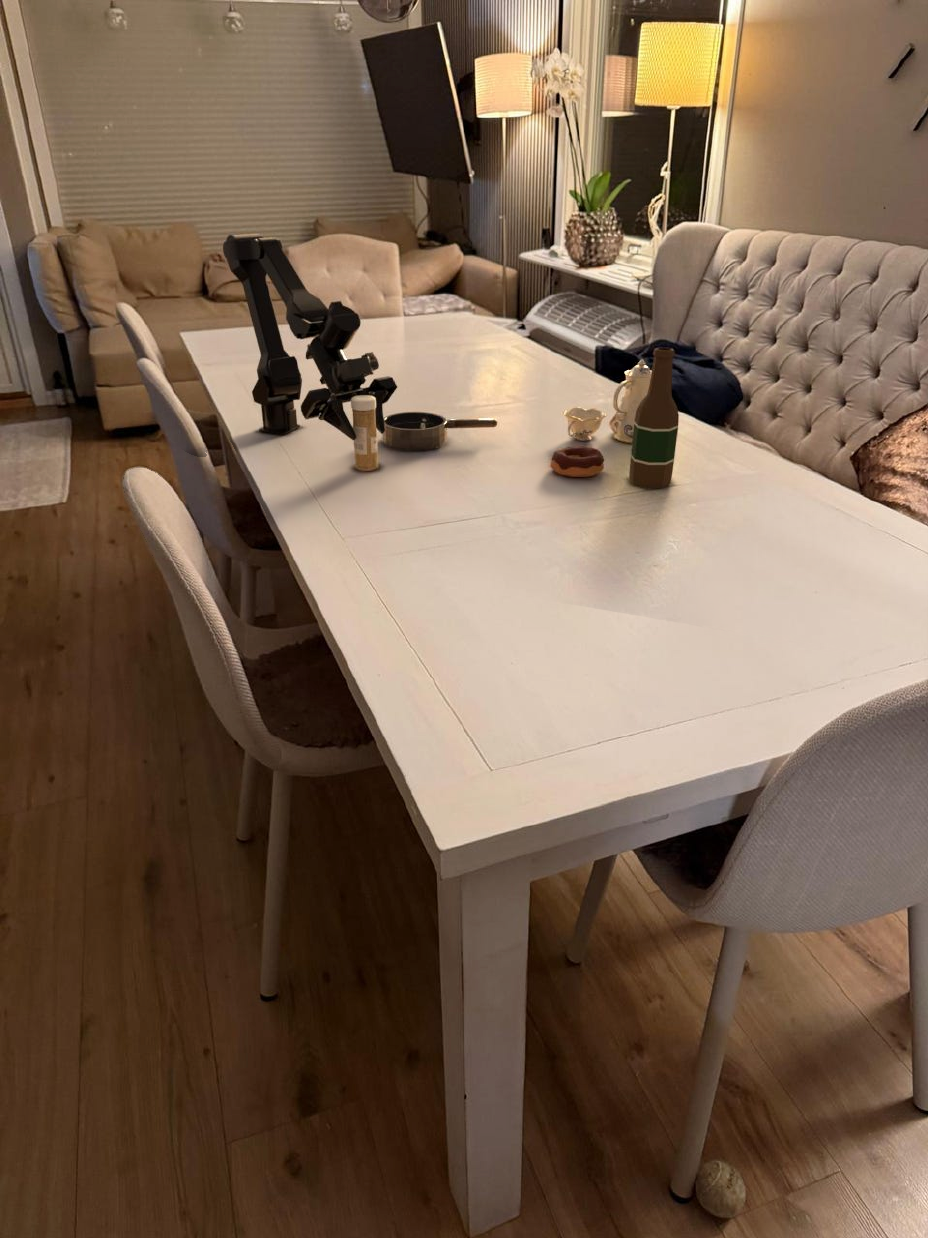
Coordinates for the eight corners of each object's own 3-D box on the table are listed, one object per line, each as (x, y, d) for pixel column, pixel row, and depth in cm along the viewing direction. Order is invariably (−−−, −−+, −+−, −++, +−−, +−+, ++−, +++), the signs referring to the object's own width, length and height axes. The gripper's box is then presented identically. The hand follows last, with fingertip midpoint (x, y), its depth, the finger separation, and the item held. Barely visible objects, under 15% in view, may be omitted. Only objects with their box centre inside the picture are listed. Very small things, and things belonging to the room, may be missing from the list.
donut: (543, 476, 167) (544, 455, 165) (557, 460, 175) (558, 440, 173) (597, 482, 164) (598, 461, 162) (608, 466, 172) (610, 446, 170)
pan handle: (445, 429, 184) (445, 420, 183) (444, 427, 185) (444, 418, 184) (497, 428, 185) (498, 419, 184) (496, 425, 186) (496, 417, 186)
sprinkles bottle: (382, 469, 170) (380, 398, 164) (361, 473, 168) (358, 401, 161) (371, 462, 173) (368, 392, 167) (350, 466, 171) (346, 396, 165)
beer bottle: (673, 477, 167) (690, 345, 156) (668, 491, 160) (684, 354, 149) (632, 472, 169) (645, 342, 158) (624, 486, 163) (638, 351, 151)
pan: (383, 452, 179) (382, 430, 177) (381, 433, 190) (380, 412, 188) (449, 450, 180) (449, 428, 178) (443, 431, 192) (443, 410, 189)
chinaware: (632, 421, 205) (632, 346, 198) (695, 429, 194) (698, 349, 187) (552, 447, 188) (550, 365, 181) (617, 457, 177) (617, 371, 170)
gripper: (303, 345, 157) (342, 421, 155) (390, 332, 167) (427, 403, 165) (284, 381, 166) (320, 454, 164) (367, 367, 176) (402, 435, 174)
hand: (369, 435), depth 167 cm, fingers open, 6 cm apart
